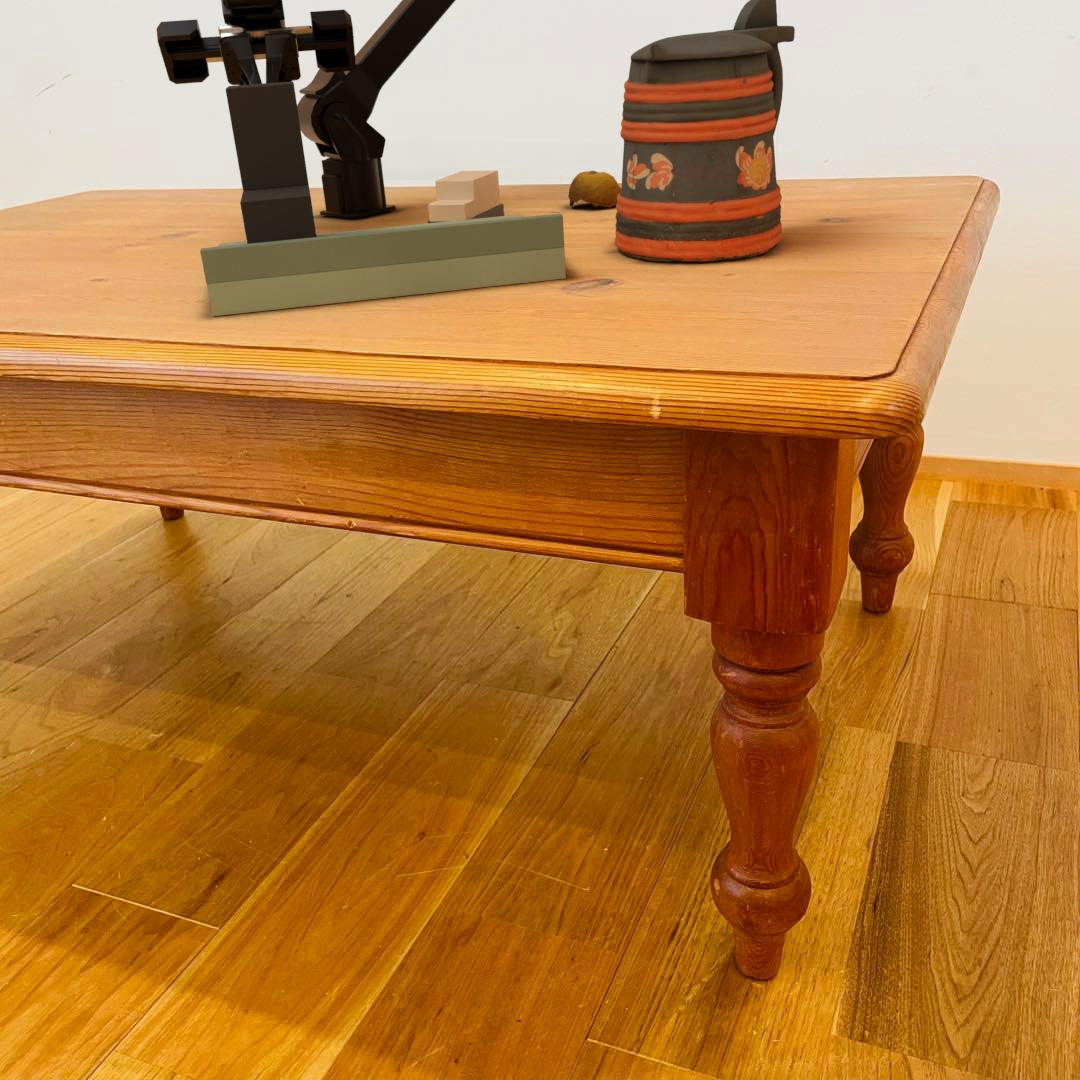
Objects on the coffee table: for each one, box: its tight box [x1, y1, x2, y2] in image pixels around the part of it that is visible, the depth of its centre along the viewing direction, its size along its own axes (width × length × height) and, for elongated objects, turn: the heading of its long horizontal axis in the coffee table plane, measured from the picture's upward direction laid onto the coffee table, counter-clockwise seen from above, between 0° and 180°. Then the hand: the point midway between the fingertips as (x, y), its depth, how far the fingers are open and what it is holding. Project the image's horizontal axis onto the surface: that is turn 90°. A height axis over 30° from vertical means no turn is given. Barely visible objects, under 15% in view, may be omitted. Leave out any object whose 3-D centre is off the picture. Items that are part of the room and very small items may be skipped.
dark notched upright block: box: [225, 81, 317, 244], centre depth 90 cm, size 12×6×13 cm, turn 12°
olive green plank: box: [199, 213, 567, 317], centre depth 92 cm, size 18×28×5 cm, turn 102°
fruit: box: [567, 170, 622, 208], centre depth 119 cm, size 8×8×4 cm
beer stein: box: [614, 0, 796, 263], centre depth 93 cm, size 19×15×20 cm
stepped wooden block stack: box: [426, 170, 505, 223], centre depth 111 cm, size 10×4×5 cm, turn 161°
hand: (268, 113), depth 105 cm, fingers closed
